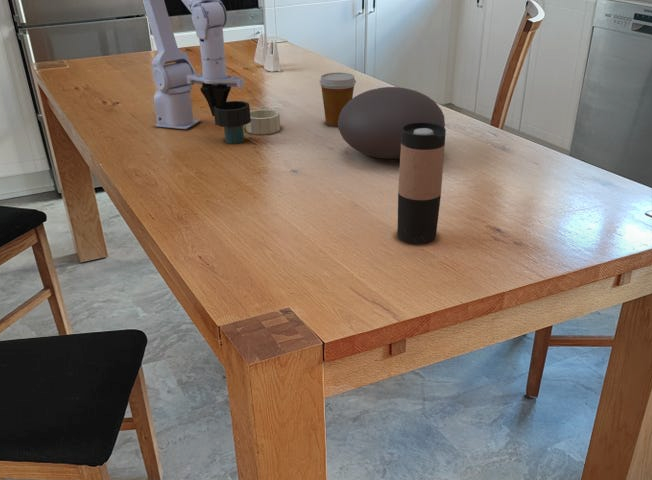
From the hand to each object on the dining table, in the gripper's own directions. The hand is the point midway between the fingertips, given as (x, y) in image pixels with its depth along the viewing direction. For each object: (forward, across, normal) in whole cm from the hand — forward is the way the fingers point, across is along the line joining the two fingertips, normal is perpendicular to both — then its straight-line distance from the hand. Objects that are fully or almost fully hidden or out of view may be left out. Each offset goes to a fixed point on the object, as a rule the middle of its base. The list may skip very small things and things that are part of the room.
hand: (218, 115), depth 180 cm
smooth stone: (+6, +44, +2) cm, 44 cm away
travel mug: (+6, +61, -41) cm, 74 cm away
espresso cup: (+6, +4, 0) cm, 7 cm away
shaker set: (+6, -19, +74) cm, 77 cm away
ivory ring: (+6, +7, +11) cm, 14 cm away
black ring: (+1, +4, 0) cm, 4 cm away
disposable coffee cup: (+6, +24, +22) cm, 33 cm away
